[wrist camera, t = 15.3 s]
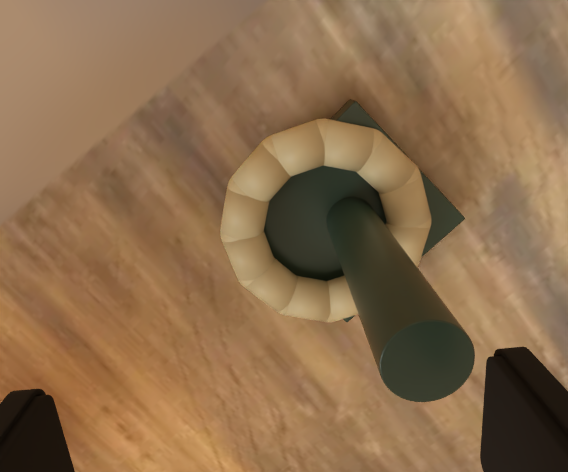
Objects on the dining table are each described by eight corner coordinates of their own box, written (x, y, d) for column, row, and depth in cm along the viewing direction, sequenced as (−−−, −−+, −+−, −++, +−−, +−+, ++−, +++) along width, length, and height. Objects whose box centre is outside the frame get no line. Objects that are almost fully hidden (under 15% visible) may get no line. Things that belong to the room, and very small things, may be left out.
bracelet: (184, 230, 23) (176, 244, 21) (317, 73, 21) (321, 73, 19) (328, 341, 25) (332, 362, 23) (461, 210, 23) (478, 222, 21)
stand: (237, 214, 24) (200, 368, 12) (350, 98, 23) (451, 132, 10) (342, 309, 26) (409, 531, 14) (454, 210, 25) (650, 357, 12)
